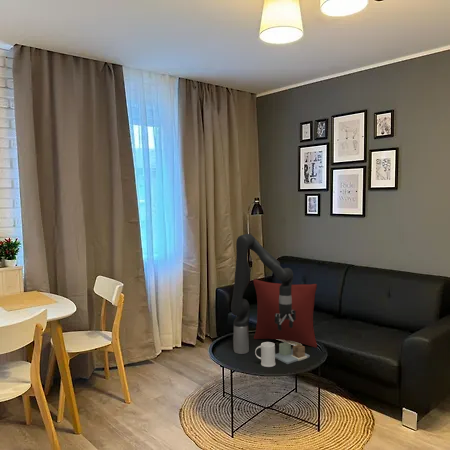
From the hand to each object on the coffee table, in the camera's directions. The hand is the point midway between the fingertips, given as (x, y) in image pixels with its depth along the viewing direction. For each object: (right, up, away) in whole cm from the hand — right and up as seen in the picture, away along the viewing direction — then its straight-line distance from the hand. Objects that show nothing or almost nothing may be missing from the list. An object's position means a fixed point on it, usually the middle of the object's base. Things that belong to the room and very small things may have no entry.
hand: (285, 328), depth 257 cm
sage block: (+1, -18, +11) cm, 21 cm away
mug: (-12, -20, -1) cm, 24 cm away
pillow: (+4, -17, +32) cm, 37 cm away
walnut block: (+9, -18, +7) cm, 21 cm away
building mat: (+4, -19, +8) cm, 21 cm away
